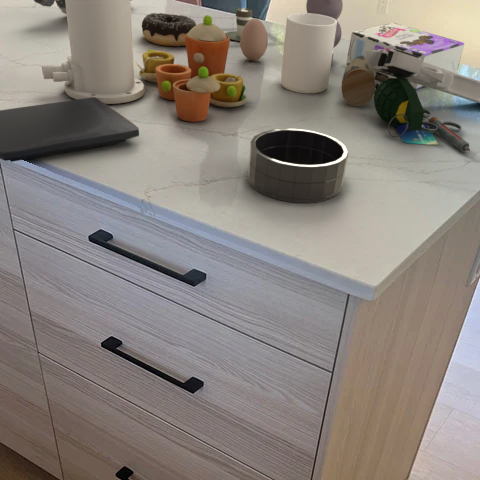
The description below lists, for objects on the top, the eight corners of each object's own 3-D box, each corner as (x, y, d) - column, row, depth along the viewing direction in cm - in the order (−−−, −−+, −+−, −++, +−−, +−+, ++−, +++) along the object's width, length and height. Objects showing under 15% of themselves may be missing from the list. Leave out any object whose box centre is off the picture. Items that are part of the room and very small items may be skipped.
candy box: (425, 54, 109) (350, 31, 117) (416, 91, 113) (344, 66, 121) (465, 41, 116) (392, 20, 124) (456, 76, 121) (386, 54, 128)
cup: (294, 95, 107) (302, 26, 99) (262, 74, 114) (267, 8, 107) (336, 91, 109) (346, 24, 102) (302, 71, 117) (309, 6, 110)
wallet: (144, 143, 88) (95, 108, 96) (143, 129, 86) (93, 95, 95) (2, 171, 79) (-38, 130, 87) (-1, 155, 77) (-41, 115, 86)
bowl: (269, 207, 76) (272, 170, 73) (235, 166, 84) (237, 131, 81) (358, 197, 80) (365, 162, 77) (317, 159, 88) (322, 125, 84)
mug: (348, 63, 101) (352, 47, 109) (335, 99, 104) (340, 80, 113) (394, 80, 101) (395, 63, 110) (380, 115, 105) (381, 96, 113)
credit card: (393, 122, 100) (393, 122, 100) (426, 124, 101) (426, 124, 100) (403, 142, 94) (403, 142, 94) (438, 145, 95) (438, 144, 94)
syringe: (451, 161, 90) (455, 149, 89) (393, 114, 102) (396, 103, 101) (495, 161, 93) (500, 149, 91) (433, 114, 104) (437, 104, 103)
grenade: (362, 112, 103) (393, 144, 95) (368, 68, 98) (401, 98, 90) (397, 108, 104) (431, 139, 96) (405, 64, 99) (441, 93, 91)
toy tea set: (131, 72, 110) (128, 7, 103) (216, 69, 114) (218, 6, 107) (172, 128, 93) (171, 54, 86) (269, 121, 97) (276, 51, 90)
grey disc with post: (227, 46, 126) (229, 17, 122) (205, 30, 133) (206, 2, 130) (281, 43, 130) (284, 15, 126) (257, 28, 137) (259, 1, 134)
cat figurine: (344, 66, 120) (356, -9, 112) (307, 67, 118) (316, -9, 110) (325, 53, 126) (336, -19, 117) (289, 54, 124) (297, -20, 115)
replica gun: (355, 43, 104) (349, 65, 106) (392, 45, 91) (385, 70, 93) (501, 91, 113) (493, 110, 114) (554, 99, 99) (545, 121, 101)
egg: (252, 54, 122) (255, 14, 118) (271, 61, 120) (275, 20, 115) (233, 58, 120) (235, 17, 115) (252, 66, 117) (255, 23, 112)
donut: (156, 50, 121) (156, 26, 118) (132, 34, 128) (130, 11, 125) (207, 45, 125) (208, 22, 122) (181, 30, 132) (181, 8, 129)
